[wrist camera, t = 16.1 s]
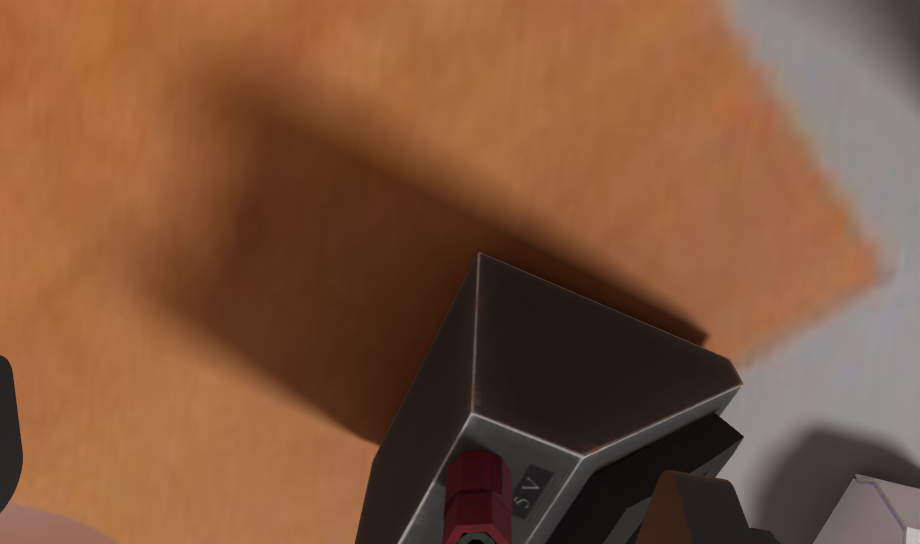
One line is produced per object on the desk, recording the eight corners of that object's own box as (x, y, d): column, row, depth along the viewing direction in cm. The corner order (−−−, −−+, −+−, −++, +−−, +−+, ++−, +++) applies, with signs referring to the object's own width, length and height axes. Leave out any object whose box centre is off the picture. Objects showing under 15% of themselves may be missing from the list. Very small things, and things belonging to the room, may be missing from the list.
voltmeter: (598, 531, 52) (653, 859, 34) (375, 446, 50) (309, 751, 32) (728, 348, 46) (880, 635, 28) (479, 241, 43) (468, 479, 25)
